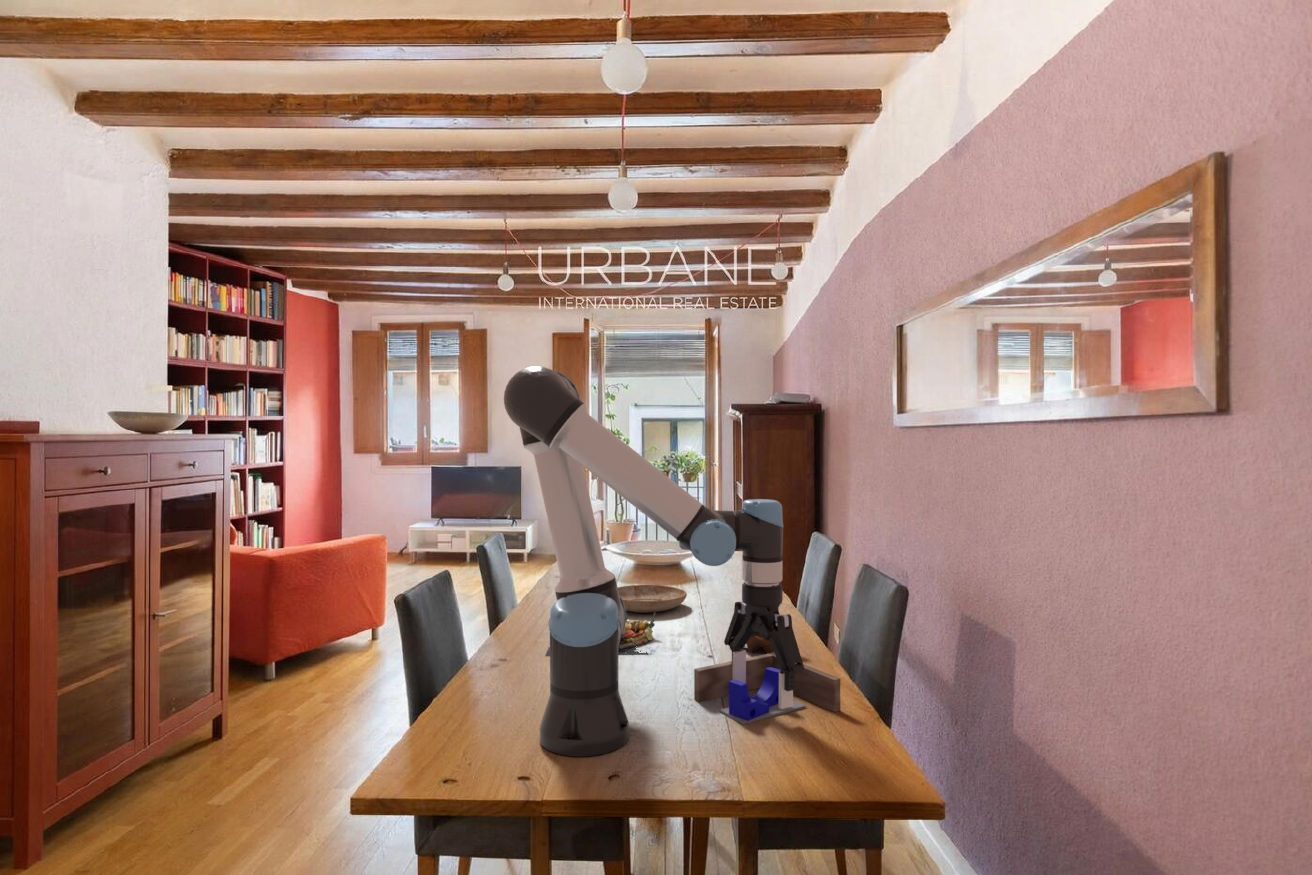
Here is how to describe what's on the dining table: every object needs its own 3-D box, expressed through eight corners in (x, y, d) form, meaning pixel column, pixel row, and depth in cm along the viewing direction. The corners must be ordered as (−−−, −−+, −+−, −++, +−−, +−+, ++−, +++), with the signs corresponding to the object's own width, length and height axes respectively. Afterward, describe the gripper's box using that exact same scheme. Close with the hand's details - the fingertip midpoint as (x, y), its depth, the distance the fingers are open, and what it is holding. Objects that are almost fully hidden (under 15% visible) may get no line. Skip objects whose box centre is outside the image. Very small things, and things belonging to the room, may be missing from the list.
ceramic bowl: (687, 618, 206) (687, 600, 206) (603, 618, 207) (603, 600, 207) (685, 599, 230) (685, 583, 230) (610, 599, 230) (610, 583, 230)
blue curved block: (747, 720, 132) (747, 687, 132) (728, 713, 135) (728, 681, 135) (788, 703, 140) (788, 672, 140) (770, 697, 143) (770, 666, 143)
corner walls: (756, 733, 127) (756, 699, 127) (694, 699, 144) (694, 668, 144) (840, 710, 138) (840, 678, 138) (773, 681, 154) (773, 652, 154)
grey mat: (742, 724, 131) (742, 722, 131) (719, 711, 137) (719, 709, 137) (805, 707, 139) (805, 705, 139) (781, 696, 145) (781, 694, 145)
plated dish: (674, 628, 199) (673, 601, 198) (684, 662, 170) (684, 631, 170) (543, 632, 196) (542, 605, 196) (532, 667, 168) (531, 636, 168)
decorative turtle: (791, 658, 170) (788, 623, 169) (726, 656, 174) (724, 623, 174) (796, 644, 179) (793, 611, 179) (734, 643, 183) (732, 611, 183)
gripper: (824, 592, 129) (823, 713, 130) (737, 569, 151) (736, 673, 151) (792, 597, 126) (791, 721, 126) (707, 573, 147) (706, 679, 147)
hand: (761, 695), depth 138 cm, fingers open, 13 cm apart
